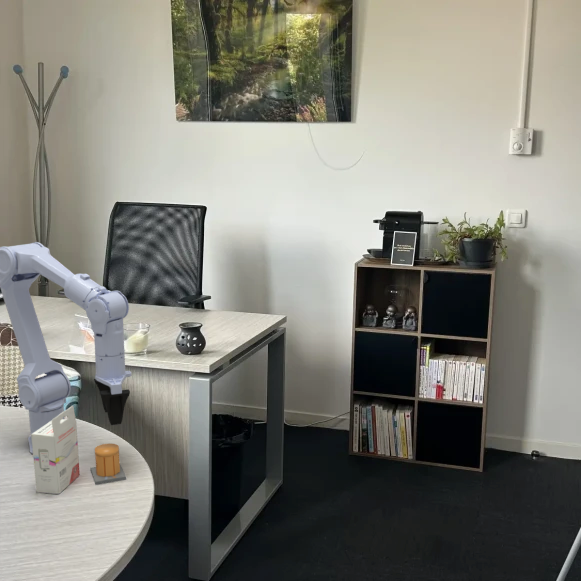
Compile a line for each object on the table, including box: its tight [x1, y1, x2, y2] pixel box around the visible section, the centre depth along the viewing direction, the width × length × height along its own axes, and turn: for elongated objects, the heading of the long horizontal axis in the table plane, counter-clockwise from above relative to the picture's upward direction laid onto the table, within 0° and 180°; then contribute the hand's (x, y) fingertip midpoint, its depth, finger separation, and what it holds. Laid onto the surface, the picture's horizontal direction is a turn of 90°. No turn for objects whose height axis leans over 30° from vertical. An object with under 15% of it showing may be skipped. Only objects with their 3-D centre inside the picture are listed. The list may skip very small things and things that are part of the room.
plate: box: [90, 464, 127, 485], centre depth 145 cm, size 7×6×3 cm
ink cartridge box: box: [30, 405, 80, 495], centre depth 140 cm, size 9×5×15 cm, turn 168°
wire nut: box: [94, 443, 121, 477], centre depth 144 cm, size 5×5×5 cm
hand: (112, 417), depth 149 cm, fingers open, 7 cm apart
